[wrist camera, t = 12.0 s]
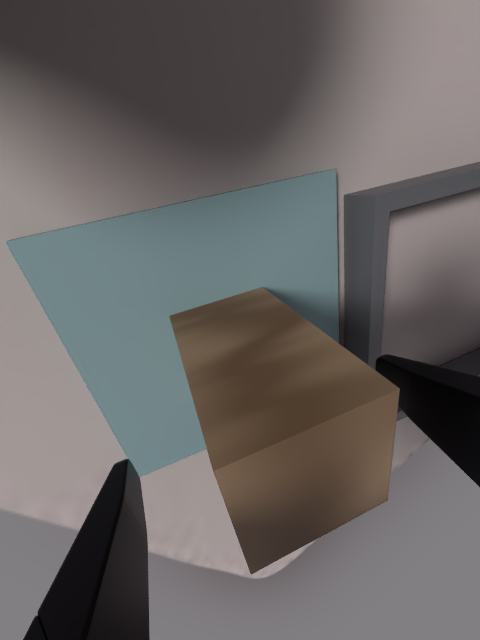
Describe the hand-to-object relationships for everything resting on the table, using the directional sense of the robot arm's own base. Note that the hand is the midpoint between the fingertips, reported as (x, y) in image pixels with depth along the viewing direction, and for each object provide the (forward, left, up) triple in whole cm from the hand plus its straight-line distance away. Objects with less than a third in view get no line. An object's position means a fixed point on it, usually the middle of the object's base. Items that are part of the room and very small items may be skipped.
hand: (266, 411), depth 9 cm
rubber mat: (0, 0, -6) cm, 6 cm away
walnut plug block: (0, 0, -5) cm, 5 cm away
